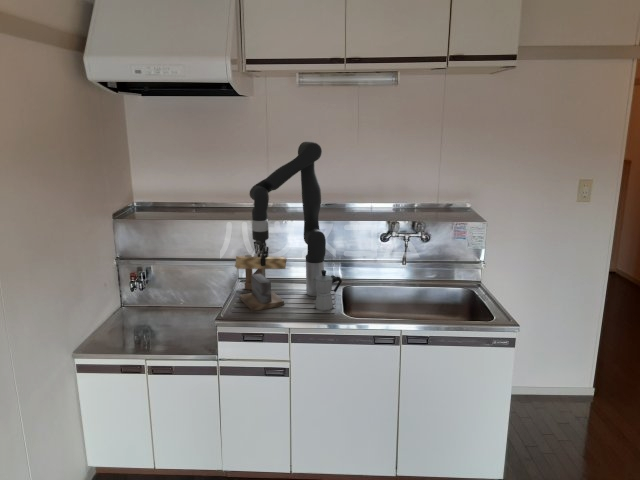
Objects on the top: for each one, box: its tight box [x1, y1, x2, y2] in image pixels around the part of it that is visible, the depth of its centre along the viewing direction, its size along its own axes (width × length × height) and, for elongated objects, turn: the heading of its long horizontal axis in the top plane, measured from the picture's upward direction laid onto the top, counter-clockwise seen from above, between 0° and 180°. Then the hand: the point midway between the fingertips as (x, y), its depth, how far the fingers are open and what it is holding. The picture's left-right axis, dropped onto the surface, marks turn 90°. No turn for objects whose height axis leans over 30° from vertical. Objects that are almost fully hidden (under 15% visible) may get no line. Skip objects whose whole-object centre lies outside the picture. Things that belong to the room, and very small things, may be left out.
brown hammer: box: [244, 254, 266, 291], centre depth 250 cm, size 4×11×18 cm, turn 68°
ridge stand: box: [239, 273, 285, 312], centre depth 234 cm, size 16×18×12 cm
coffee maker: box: [310, 269, 343, 312], centre depth 226 cm, size 15×9×18 cm, turn 101°
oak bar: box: [234, 255, 287, 270], centre depth 229 cm, size 24×4×5 cm, turn 118°
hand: (261, 264), depth 230 cm, fingers closed on oak bar, 3 cm apart
